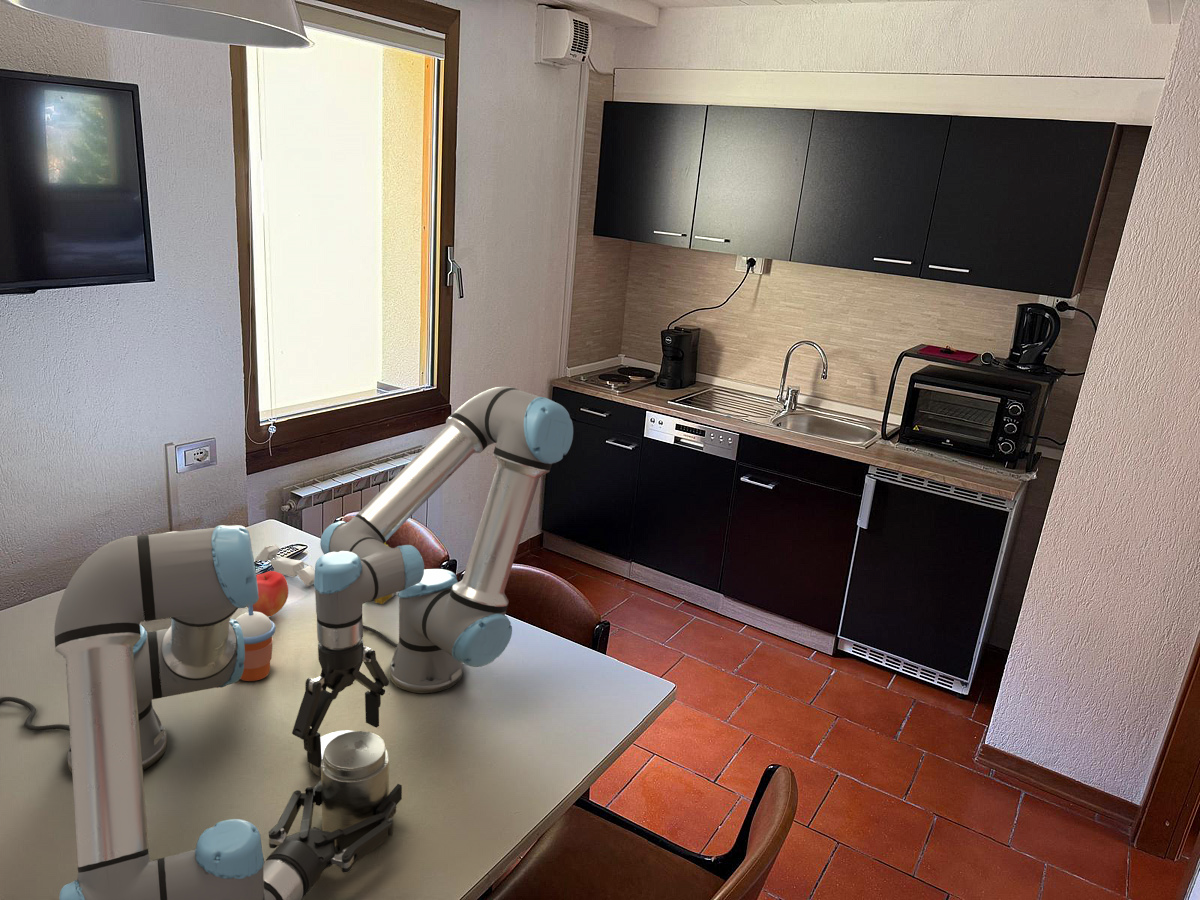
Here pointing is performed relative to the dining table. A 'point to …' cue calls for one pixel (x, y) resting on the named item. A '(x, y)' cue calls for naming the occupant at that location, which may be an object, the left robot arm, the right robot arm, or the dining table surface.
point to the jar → (353, 779)
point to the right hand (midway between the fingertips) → (344, 743)
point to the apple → (271, 593)
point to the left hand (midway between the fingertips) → (370, 782)
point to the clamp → (287, 565)
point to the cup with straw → (256, 644)
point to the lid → (324, 743)
